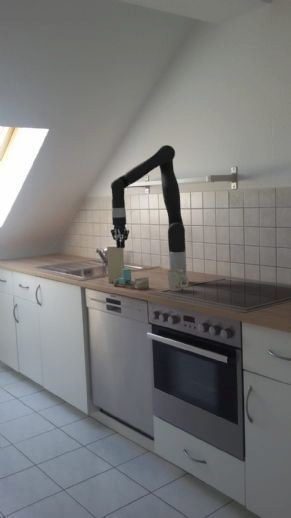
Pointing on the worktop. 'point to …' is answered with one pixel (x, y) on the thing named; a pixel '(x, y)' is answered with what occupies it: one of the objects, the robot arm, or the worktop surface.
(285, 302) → the worktop surface
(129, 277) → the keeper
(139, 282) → the track
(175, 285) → the mug
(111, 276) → the toy refrigerator
